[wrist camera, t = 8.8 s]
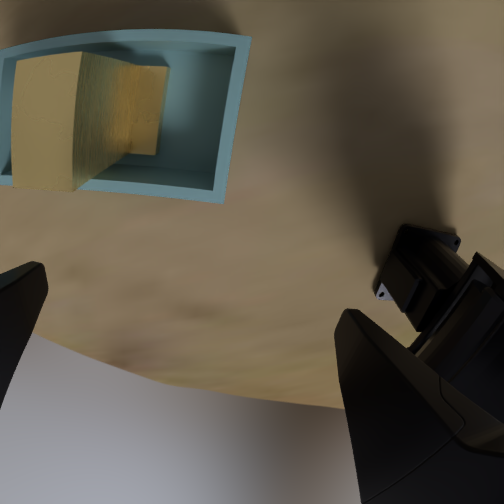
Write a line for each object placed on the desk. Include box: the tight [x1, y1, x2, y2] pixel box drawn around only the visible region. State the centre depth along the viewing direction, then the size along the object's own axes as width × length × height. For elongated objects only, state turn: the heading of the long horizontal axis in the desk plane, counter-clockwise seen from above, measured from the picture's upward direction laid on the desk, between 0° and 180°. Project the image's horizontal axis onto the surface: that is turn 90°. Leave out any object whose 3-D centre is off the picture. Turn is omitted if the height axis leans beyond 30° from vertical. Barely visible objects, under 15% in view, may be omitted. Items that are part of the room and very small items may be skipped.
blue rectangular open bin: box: [0, 29, 252, 204], centre depth 14 cm, size 14×8×4 cm, turn 80°
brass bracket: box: [11, 51, 171, 192], centre depth 12 cm, size 6×5×8 cm
